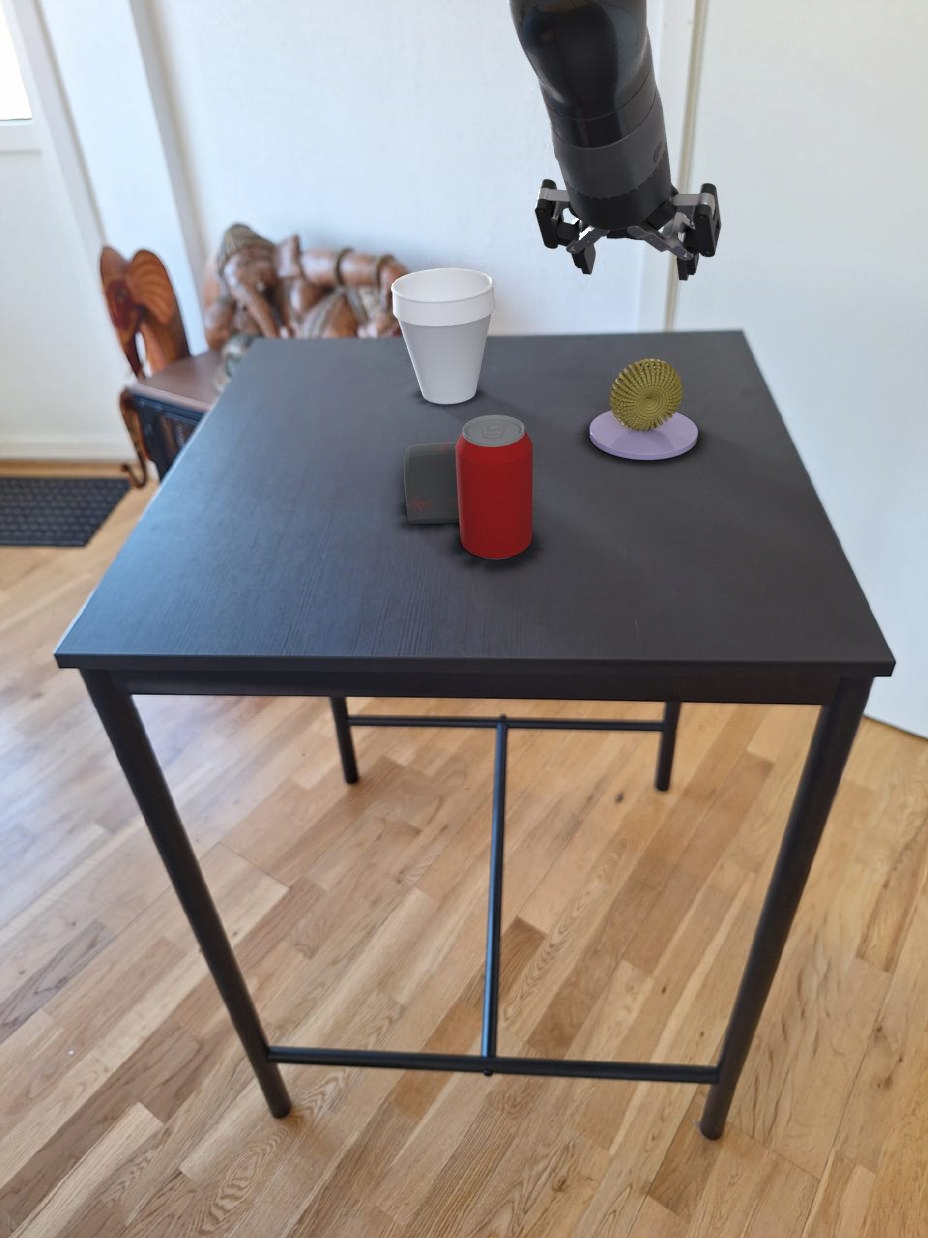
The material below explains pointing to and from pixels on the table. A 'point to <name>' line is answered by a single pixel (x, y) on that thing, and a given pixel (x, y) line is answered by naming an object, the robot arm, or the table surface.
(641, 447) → the saucer
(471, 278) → the cup
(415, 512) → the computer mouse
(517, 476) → the beverage can
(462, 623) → the table surface
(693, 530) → the table surface
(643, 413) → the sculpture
